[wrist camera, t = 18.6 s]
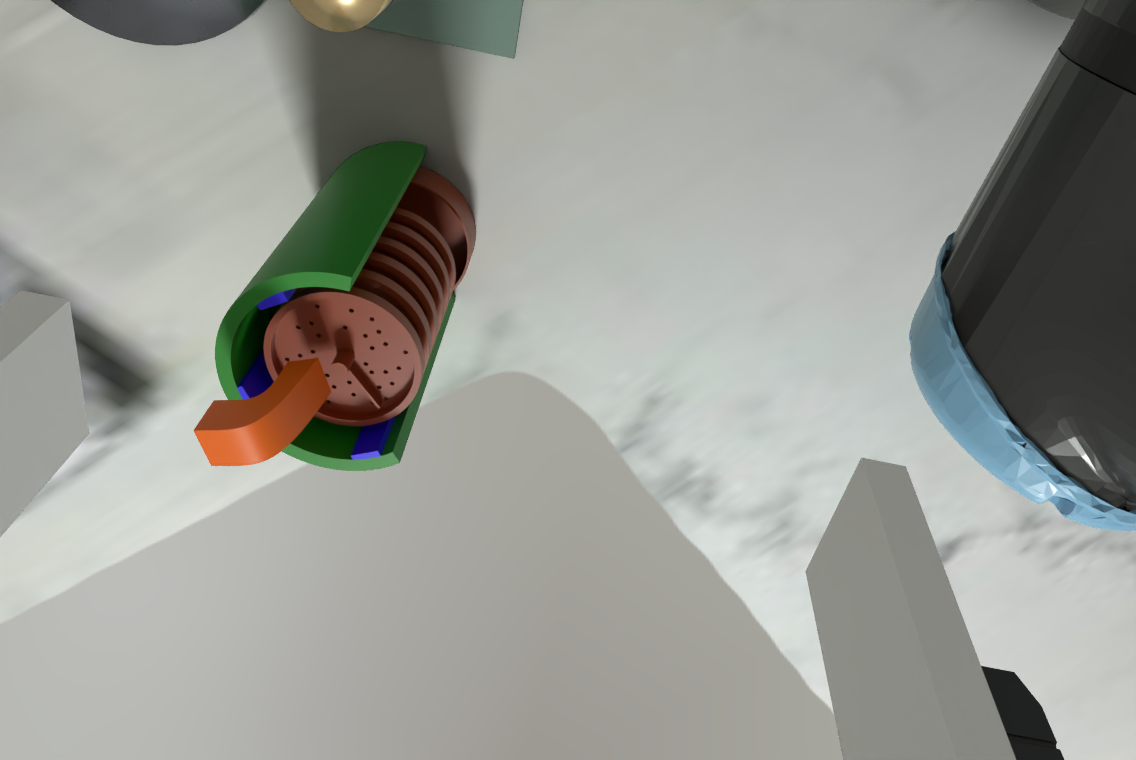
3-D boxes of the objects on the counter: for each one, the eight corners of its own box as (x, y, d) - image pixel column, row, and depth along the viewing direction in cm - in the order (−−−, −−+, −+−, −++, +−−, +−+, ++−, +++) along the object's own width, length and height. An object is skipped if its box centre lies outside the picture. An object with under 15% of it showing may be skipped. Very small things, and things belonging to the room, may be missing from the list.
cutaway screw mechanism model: (504, 284, 53) (439, 515, 36) (371, 324, 55) (252, 558, 38) (432, 123, 48) (318, 307, 31) (289, 174, 50) (111, 370, 33)
